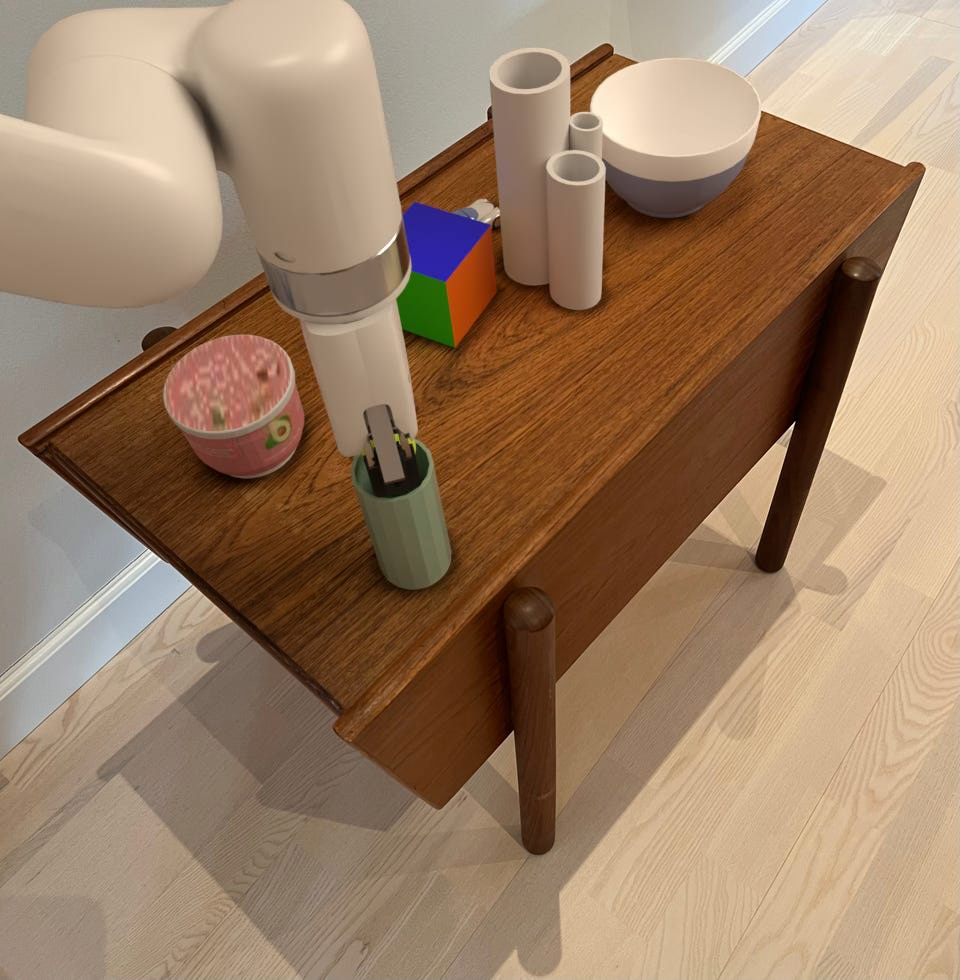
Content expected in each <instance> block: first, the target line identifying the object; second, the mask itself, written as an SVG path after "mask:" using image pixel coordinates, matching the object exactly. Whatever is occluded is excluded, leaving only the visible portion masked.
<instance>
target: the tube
mask: <svg viewBox="0 0 960 980" xmlns="http://www.w3.org/2000/svg"><path fill="white" fill-rule="evenodd" d="M414 440H415V444H416V453H415V455H416V460H417V464H418V468H419V473H420V477H421V482H422V484H421V485H420V486H419V487H416V488H413V489H409V490H407V491H405V492H403V493H399V494H394V495H391V494H389V495H385V496H381V497H377V496H375V495H374V492H373V489H372V486H371V482H370V479H369V476H368V472H367V469H366V466H365V463H364V459H363V457H362V453H361V454H360V455H356V456H353V459H352V462H351V467H350V471H349V472H350V473H349V474H350V477H351V482H352V486H353V489H354V491H355V496H356V498H357V501H358V504H359V507H360V510H361V513H362V517H363V519H364V522H365V525H366V528H367V531H368V534H369V538H370V541H371V544H372V546H373V549H374V553H375V556H376V559H377V562H378V564H379V568H380V570H381V572H382V574H383V576H384V577H385V579H386V580H387V581H388V582H389V583H391V584H392V585H394V586H396V587H398V588H401V589H404V590H413V591H415V590H421V589H425V588H428V587H430V586H433V585H435V584H437V582H439V581H441V580H442V578H443V577H444V576H445V575H446V573H447V572H448V570H449V568H450V566H451V562H452V546H451V541H450V538H449V533H448V528H447V523H446V518H445V514H444V513H445V512H444V507H443V502H442V498H441V493H440V488H439V483H438V478H437V473H436V468H435V462H434V459H433V456H432V452H431V450H430V449H429V448H428V447H427V446H426V445H425V444H424V443H423V442H422V441H421V440H419V439H416V438H414Z"/></svg>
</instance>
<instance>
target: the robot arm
mask: <svg viewBox="0 0 960 980" xmlns="http://www.w3.org/2000/svg"><path fill="white" fill-rule="evenodd" d="M376 68H377V67H376V63H375V58H374V54H373V49H372V45H371V40H370V37H369V33H368V31H367V28H366V26H365V24H364V22H363V20H362V19H361V17H360V15H359V14H358V12H357V11H356V10H355V9H354V8H353V6H351V5H350V4H349V3H348V2H347V1H345V0H231V1H230V2H228V3H226V4H224V5H217V6H216V5H215V6H200V7H199V6H198V7H111V8H97V9H92V10H87V11H82V12H77V13H75V14H72V15H70V16H68V17H65V18H62V19H60V20H58V21H57V22H55V23H54V24H53V25H52V26H50V27H49V28H48V29H47V30H45V31H44V33H42V35H40V37H39V39H38V40H37V42H36V43H35V45H34V47H33V49H32V51H31V54H30V56H29V61H28V64H27V68H26V69H27V70H26V78H25V79H26V81H25V82H26V83H25V103H24V104H25V105H24V119H20V118H17V117H13V116H9V115H6V114H3V113H0V292H1V293H6V294H11V295H17V296H21V297H25V298H31V299H35V300H39V301H46V302H52V303H57V304H63V305H70V306H77V307H78V306H80V307H86V308H87V307H88V308H101V309H135V308H143V307H148V306H152V305H159V304H163V303H165V302H167V301H170V300H173V299H175V298H179V296H181V295H183V294H185V293H187V292H188V291H189V290H190V289H193V288H194V287H195V286H196V285H197V284H198V283H199V282H200V281H201V280H202V278H203V277H205V275H206V274H207V273H208V272H209V271H210V268H211V267H212V265H213V263H214V261H215V259H216V257H217V255H218V252H219V248H220V245H221V241H222V237H223V236H222V235H223V225H224V223H223V220H224V219H223V207H222V206H223V204H222V196H221V190H220V184H219V178H218V177H219V176H218V171H219V172H222V173H224V174H226V175H227V177H229V179H230V180H231V182H232V184H233V187H234V191H235V193H236V195H237V198H238V202H239V205H240V208H241V210H242V213H243V216H244V219H245V222H246V225H247V227H248V230H249V232H250V233H249V234H250V236H251V238H252V241H253V243H254V247H255V249H256V252H257V253H256V254H257V255H258V258H259V261H260V265H261V267H262V269H263V273H264V275H265V278H266V281H267V284H268V286H269V289H270V292H271V294H272V296H273V299H274V301H275V303H276V304H277V305H278V306H279V307H280V309H282V310H283V311H284V312H285V313H287V314H288V315H289V316H291V317H293V318H296V319H298V320H299V323H300V328H301V331H302V336H303V339H304V342H305V346H306V349H307V353H308V356H309V359H310V362H311V366H312V369H313V371H314V375H315V379H316V381H317V382H316V383H317V385H318V388H319V391H320V395H321V397H322V401H323V403H324V408H325V411H326V414H327V417H328V420H329V423H330V427H331V430H332V433H333V437H334V440H335V444H336V447H337V451H338V453H339V454H341V456H343V457H345V458H350V457H355V456H356V455H360V454H361V452H362V450H363V448H364V451H365V454H366V455H363V459H364V463H365V466H366V469H367V472H368V476H369V479H370V482H371V486H372V489H373V492H374V495H375V496H377V497H381V496H385V495H389V494H391V495H394V494H399V493H403V492H405V491H407V490H409V489H413V488H416V487H419V486H420V485H421V484H422V482H421V477H420V473H419V468H418V464H417V460H416V455H415V451H414V447H413V443H411V444H409V442H408V438H410V441H412V440H413V439H416V436H417V434H418V432H419V429H418V420H417V412H416V405H415V404H416V403H415V397H414V392H413V391H414V390H413V385H412V378H411V377H412V376H411V371H410V365H409V360H408V354H407V348H406V342H405V338H404V332H403V329H402V327H401V322H400V316H399V311H398V306H397V301H396V298H397V297H398V296H399V295H400V293H401V292H402V291H403V290H404V288H405V286H406V285H407V283H408V281H409V278H410V274H411V267H412V266H411V258H410V252H409V247H408V242H407V236H406V231H405V225H404V220H403V211H402V205H401V199H400V195H399V188H398V183H397V176H396V172H395V168H394V162H393V157H392V151H391V145H390V140H389V134H388V129H387V123H386V118H385V112H384V107H383V102H382V101H383V100H382V96H381V91H380V90H381V89H380V86H379V79H378V75H377V69H376ZM394 434H398V436H399V440H400V443H399V441H395V437H394ZM371 440H373V441H374V444H375V447H374V450H373V446H372V443H371Z"/></svg>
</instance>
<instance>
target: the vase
mask: <svg viewBox="0 0 960 980" xmlns="http://www.w3.org/2000/svg"><path fill="white" fill-rule="evenodd" d="M488 79H489V90H490V91H489V92H490V105H491V116H492V117H491V118H492V130H493V142H494V155H495V156H494V157H495V168H496V182H497V193H498V208H500V221H501V226H500V232H501V233H500V234H501V245H502V257H503V268H504V271H505V273H506V274H507V276H508V277H509V278H510V279H511V280H513V281H514V282H516V283H519V284H521V285H524V286H543V285H544V286H545V285H548V286H549V294H550V298H551V299H552V300H553V302H555V303H556V304H557V305H559V306H560V307H562V308H565V309H568V310H574V311H582V310H583V311H584V310H588V309H591V308H593V307H595V306H597V304H598V303H599V302H600V300H601V299H602V290H603V263H604V262H603V259H604V258H603V257H604V253H603V252H604V231H605V229H604V228H605V227H604V226H605V199H606V197H605V196H606V194H605V193H606V179H605V172H606V168H605V165H604V162H603V161H602V135H603V121H602V118H601V117H600V116H598V115H597V114H594V113H591V112H590V111H580V112H579V111H578V112H576V113H574V114H572V115H571V65H570V61H569V60H568V59H567V58H566V56H565V55H564V54H562V53H560V52H558V51H556V50H554V49H549V48H545V47H525V48H519V49H515V50H512V51H509V52H507V53H504V54H503V55H501V56H500V57H498V58H497V59H496V60H495V61H494V62H493V63H492V64H491V66H490V69H489V71H488Z"/></svg>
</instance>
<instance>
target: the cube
mask: <svg viewBox="0 0 960 980" xmlns="http://www.w3.org/2000/svg"><path fill="white" fill-rule="evenodd" d="M402 215H403V220H404V225H405V231H406V236H407V242H408V247H409V252H410V258H411V266H412V267H411V274H410V278H409V281H408V283H407V285H406V286H405V288H404V290H403V291H402V292H401V293H400V295H399V296H398V297H397V298H396V301H397V306H398V311H399V316H400V322H401V327H402V331H403V330H404V331H407V332H409V333H411V334H415V335H417V336H420V337H423V338H426V339H429V340H431V341H435V342H437V343H440V344H443V345H446V346H449V347H452V348H454V349H456V348H457V347H458V345H459V344H460V343H461V341H462V340H463V338H464V337H465V336H466V334H468V332H469V330H470V329H471V328H472V326H473V325H474V324H475V322H476V321H477V319H478V318H479V317H480V316H481V314H482V313H483V312H484V310H485V309H486V308H487V306H488V305H489V304H490V302H491V301H492V300H493V298H494V297H495V296H496V294H497V293H498V289H497V288H498V286H497V276H496V266H495V254H494V242H493V231H492V230H493V228H492V229H491V225H490V224H487V223H483V222H480V221H477V220H473V219H470V218H467V217H463V216H460V215H457V214H454V213H452V212H450V211H447V210H443V209H440V208H437V207H434V206H430V205H427V204H425V203H421V202H417V201H413V203H411V205H410V206H409V207H408V208H407V209H406V210H405V212H404V213H402Z"/></svg>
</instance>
